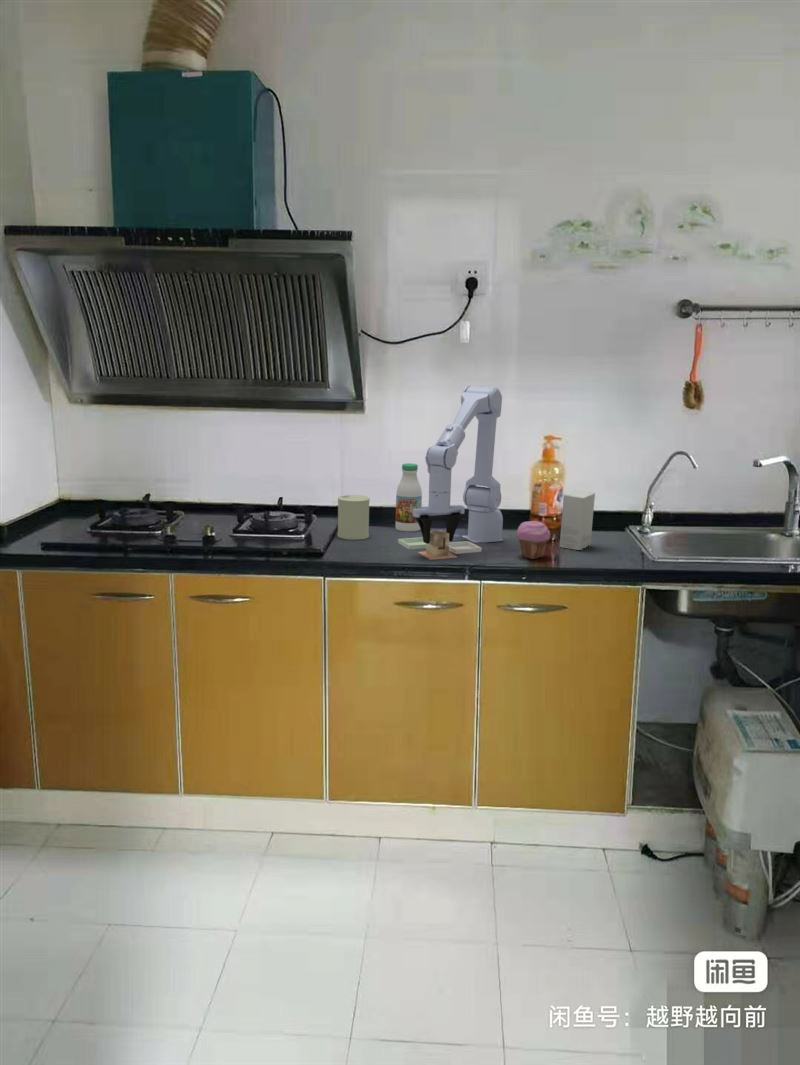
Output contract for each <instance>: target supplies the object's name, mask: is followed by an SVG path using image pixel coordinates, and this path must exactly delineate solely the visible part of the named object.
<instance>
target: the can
mask: <svg viewBox="0 0 800 1065" xmlns="http://www.w3.org/2000/svg"><path fill="white" fill-rule="evenodd" d="M369 526H370V497H369V496H366V495H359V494H348V495H347V494H345V495H340V496H339V497H337V537H338V538H340V539H343V540H344V539H345V540H365V539H367V538H369V537H370V530H369V528H370V527H369Z"/></svg>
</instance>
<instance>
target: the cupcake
mask: <svg viewBox="0 0 800 1065" xmlns="http://www.w3.org/2000/svg"><path fill="white" fill-rule="evenodd" d="M515 536H516V538H517V539H518V542H519V546H520V551H521V555H522V557H524V558H528V559H530V560H535V559H539V557H541V558H543V557H544V556H545V551H546V546H547V543H548V541H549V540H550V538H551V531H550V529H549V528H548V527H547V525H546V524H545V523H543V522H541V521H536V520H529V521H523V522H521V523H520V524H519V525H518V527H517V530H516V535H515Z"/></svg>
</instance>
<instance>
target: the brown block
mask: <svg viewBox="0 0 800 1065" xmlns="http://www.w3.org/2000/svg"><path fill="white" fill-rule="evenodd" d="M449 543H450V541H449V533H447V532H446V531H444V530H443V529H439V530H438V529H437V530H435V529H434V530H430V542H429V544H427V543H426V548H425V551H426V553H427V554H429V555H431V556H433V557H438V556H448V555H449V552H450V551H449Z"/></svg>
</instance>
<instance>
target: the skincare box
mask: <svg viewBox="0 0 800 1065" xmlns="http://www.w3.org/2000/svg"><path fill="white" fill-rule="evenodd" d="M562 498H563V499H562V500H563V501H562V509H561V510H562V513H561V514H562V515H561V524H560V535H559V536H560V538H559V548H560V547H564V548H571V549H577V550H581V549H583V548H585V547H587V546H588V545H590V544H591V545H592V532H593V531H592V530H593V521H594V520H593V519H594V510H595V509H594V508H595V498H596V493H595V492H591V491H583V490H578V489H577V490H576V489H575V490H573V491H570V492H568V493H564V494H563V497H562ZM587 548H588V547H587ZM585 549H586V548H585ZM583 550H584V549H583ZM581 551H582V550H581Z"/></svg>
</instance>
